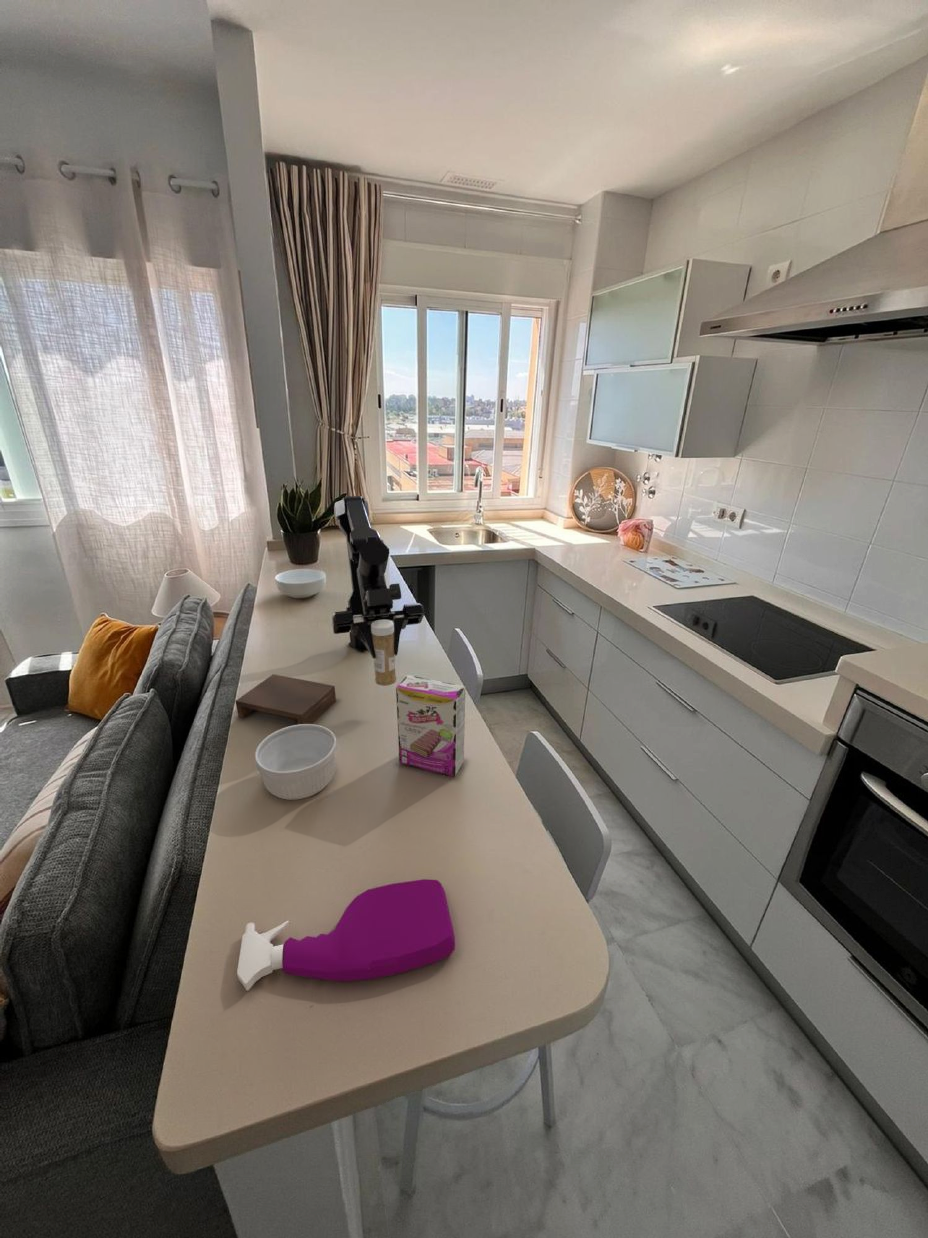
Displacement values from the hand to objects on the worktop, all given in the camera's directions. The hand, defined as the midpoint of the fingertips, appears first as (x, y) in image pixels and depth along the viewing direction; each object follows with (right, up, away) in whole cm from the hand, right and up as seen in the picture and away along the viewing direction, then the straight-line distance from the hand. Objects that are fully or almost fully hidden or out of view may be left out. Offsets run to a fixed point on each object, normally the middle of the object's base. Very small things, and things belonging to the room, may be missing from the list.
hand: (385, 656), depth 101 cm
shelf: (-22, -12, +6) cm, 25 cm away
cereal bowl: (-40, +16, +72) cm, 84 cm away
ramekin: (-12, -20, -14) cm, 28 cm away
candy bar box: (+10, -19, -10) cm, 24 cm away
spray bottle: (+2, -32, -41) cm, 52 cm away
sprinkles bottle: (-1, -6, +4) cm, 7 cm away
